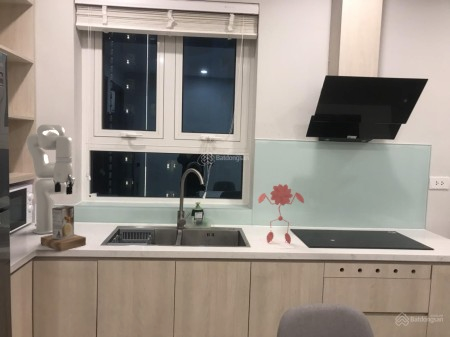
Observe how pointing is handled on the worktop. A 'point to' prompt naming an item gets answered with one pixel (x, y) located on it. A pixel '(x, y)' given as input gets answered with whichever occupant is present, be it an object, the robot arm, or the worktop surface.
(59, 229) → the coffee box
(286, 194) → the pink flower figurine
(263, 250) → the worktop surface
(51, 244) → the board
